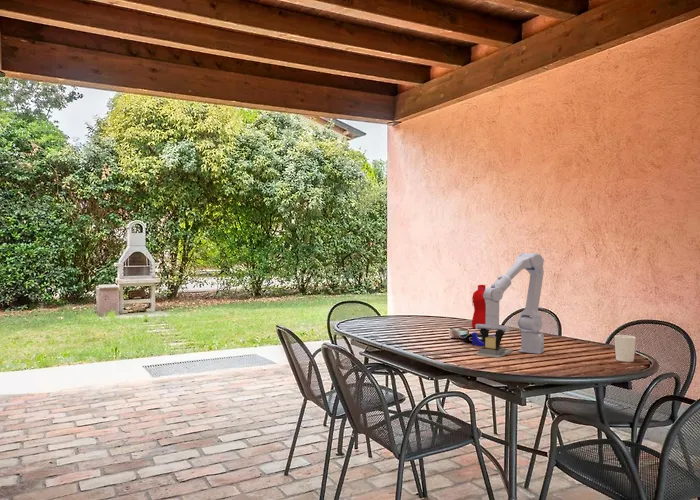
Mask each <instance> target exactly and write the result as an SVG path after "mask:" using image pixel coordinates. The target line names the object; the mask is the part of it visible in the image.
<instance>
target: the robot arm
mask: <svg viewBox="0 0 700 500" xmlns="http://www.w3.org/2000/svg"><path fill="white" fill-rule="evenodd" d="M544 261H545V259H544V258H543V256H542V254H541V253H538V252H534V253H533V252H530V253H529V252H527V253H526V252H521V253H519V255H518V256H517V257H516V258H515V262H514V263H513V264H512V265H511V266H510V268H509V270H507V272H506V273H505V274H501V275H499V276H498V277H497V279H496V280H495V281H494V282H493V283H492V284H491V286H489V287H487V288H485V291H484V294H483V297H484V299H485V303H486V324H476V326H475V328H474V329H476V330H479V333H480V335H481V337H482V340H483V342H484V344H485V337H487V336H489V333H490V331H495V332H494V333H495V334H496V348H499V347H500V345H501V342H502V339H503V337H504V335H505V333H506V332H507V333H508V332H509V333H510V326H507V325H500V301H501V300H502V299H503V297H504V293H505V292H506V290H508V288H509V287H510V286H511V285H512V280H513V279H514V278H515V277H516V276H517V275H518V274H519V273H520V272H522V270H526V271H527V273H528V274H529V282H528V289H527V295H526V301H525V308H524V309H523V310H522V311H521V312H520V316H519V318H518V319H517V325H518V327H519V329H520V331H521V332H520V333H521V334H520V339H521V341H520V343H521V344H520V346H521V347H520V349H518V350H517V351H518V352H521V353H530V354H537V355H538V354H539V355H541V354H542V353H544V352H545V336H544V333H543V332H540V331H541V330H542V327H543V322H542V321H543V319H542V318H543V316H542V314H541V313H540V312H539V307H540V300H541V294H542V287H543V281H544V272H545V271H544V263H545V262H544Z"/></svg>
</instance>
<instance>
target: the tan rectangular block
mask: <svg viewBox="0 0 700 500" xmlns="http://www.w3.org/2000/svg"><path fill="white" fill-rule="evenodd" d="M485 349H490V350H499V348H496V337H495V335H494V336H493V335H492V336H491V335H488V336H487V337H485Z"/></svg>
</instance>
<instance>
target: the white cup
mask: <svg viewBox="0 0 700 500" xmlns="http://www.w3.org/2000/svg"><path fill="white" fill-rule="evenodd" d="M636 339H637V338H636V336H633V335H626V334H616V335H614V352H615V360H616V361H619V362H624V363H631V362H635V361H634V360H635V353H636Z"/></svg>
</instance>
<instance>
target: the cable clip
mask: <svg viewBox="0 0 700 500" xmlns="http://www.w3.org/2000/svg"><path fill="white" fill-rule="evenodd" d="M494 337H496V333H495V334H494ZM471 346H475V347H484V346H485V344H484V341H482V340H481V339H480V338H479V336H478V333H477V332H476V331H474V332H472V333H471Z"/></svg>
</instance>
